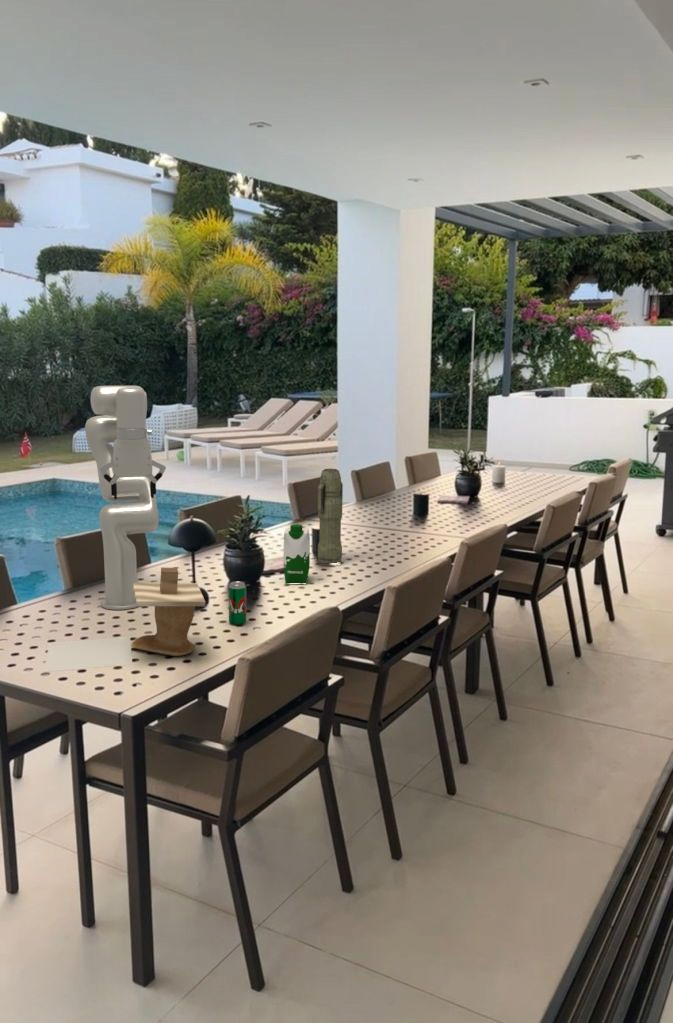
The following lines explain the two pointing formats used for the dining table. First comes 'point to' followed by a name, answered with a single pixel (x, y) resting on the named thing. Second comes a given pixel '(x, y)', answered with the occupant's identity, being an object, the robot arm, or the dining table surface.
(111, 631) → the dining table surface
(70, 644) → the grey mat
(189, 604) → the birch lid
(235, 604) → the soda can
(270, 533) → the dining table surface
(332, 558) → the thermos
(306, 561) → the milk carton
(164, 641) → the brown boot-shaped piece
